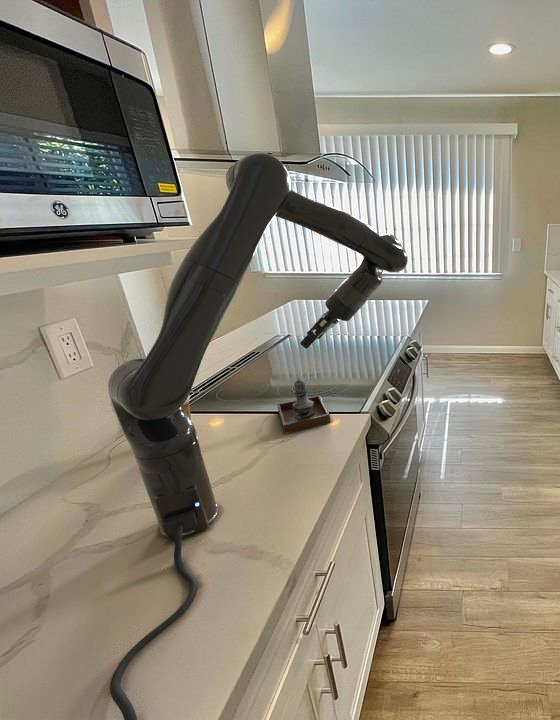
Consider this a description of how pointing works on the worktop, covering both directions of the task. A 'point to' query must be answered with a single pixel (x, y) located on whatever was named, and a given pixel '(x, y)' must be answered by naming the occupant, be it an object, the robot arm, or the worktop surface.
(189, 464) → the robot arm
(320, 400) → the spice tray
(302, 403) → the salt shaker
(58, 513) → the worktop surface
